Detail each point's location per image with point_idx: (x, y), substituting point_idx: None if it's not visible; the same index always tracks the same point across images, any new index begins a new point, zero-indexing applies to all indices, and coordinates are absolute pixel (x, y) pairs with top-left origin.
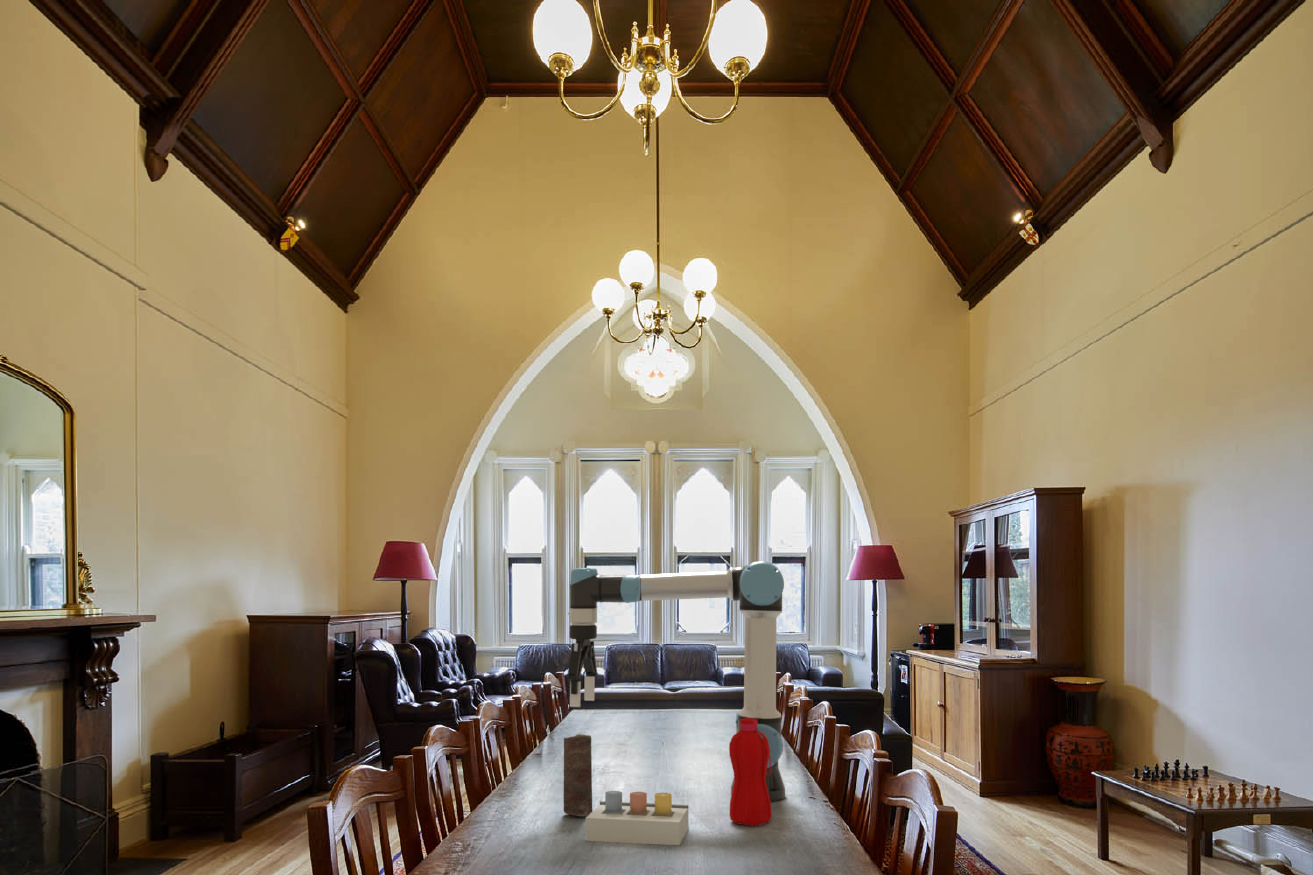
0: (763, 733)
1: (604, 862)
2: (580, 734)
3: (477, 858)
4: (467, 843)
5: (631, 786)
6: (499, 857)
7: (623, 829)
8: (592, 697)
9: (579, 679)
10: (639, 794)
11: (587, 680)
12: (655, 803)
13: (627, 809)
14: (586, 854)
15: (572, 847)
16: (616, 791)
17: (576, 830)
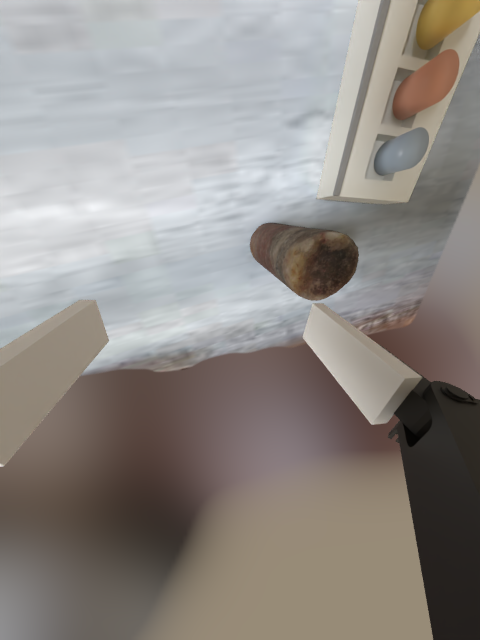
0: None
1: (476, 157)
2: (297, 269)
3: (409, 298)
4: (363, 321)
5: (39, 188)
6: (413, 281)
7: None
8: (88, 312)
9: (448, 390)
10: (449, 73)
11: (23, 414)
12: (454, 30)
13: (378, 130)
14: (437, 190)
15: (405, 215)
16: (405, 144)
17: (337, 228)
